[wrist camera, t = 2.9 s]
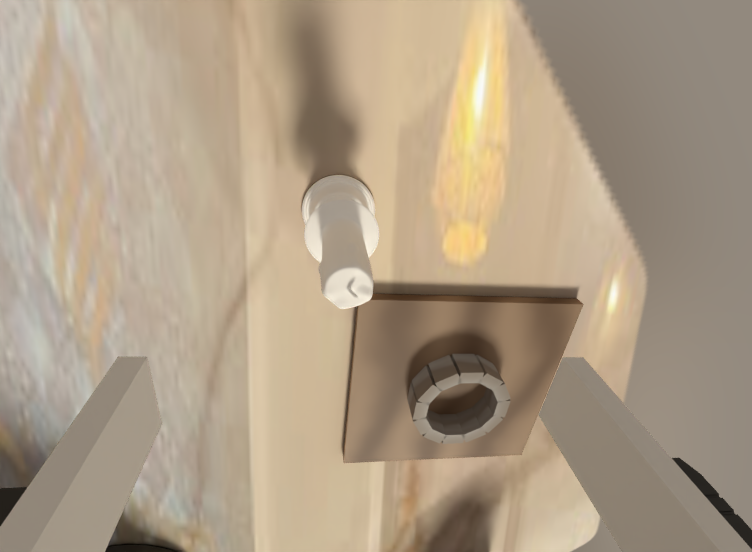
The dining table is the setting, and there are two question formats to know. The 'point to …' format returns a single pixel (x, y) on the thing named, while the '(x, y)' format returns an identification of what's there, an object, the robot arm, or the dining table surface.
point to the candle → (341, 237)
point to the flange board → (436, 336)
